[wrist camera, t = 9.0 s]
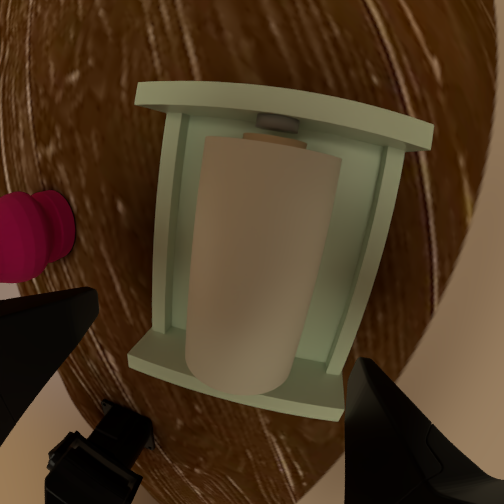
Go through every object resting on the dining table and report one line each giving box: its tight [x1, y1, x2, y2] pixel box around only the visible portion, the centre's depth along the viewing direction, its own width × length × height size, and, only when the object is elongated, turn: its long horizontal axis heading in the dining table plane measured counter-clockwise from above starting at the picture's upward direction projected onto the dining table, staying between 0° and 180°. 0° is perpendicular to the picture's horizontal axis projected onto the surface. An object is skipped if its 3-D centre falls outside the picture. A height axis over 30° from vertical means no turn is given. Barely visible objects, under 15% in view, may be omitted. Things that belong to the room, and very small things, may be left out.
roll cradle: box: [127, 81, 434, 421], centre depth 17 cm, size 18×14×6 cm
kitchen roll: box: [185, 133, 342, 395], centre depth 15 cm, size 13×6×6 cm, turn 171°
